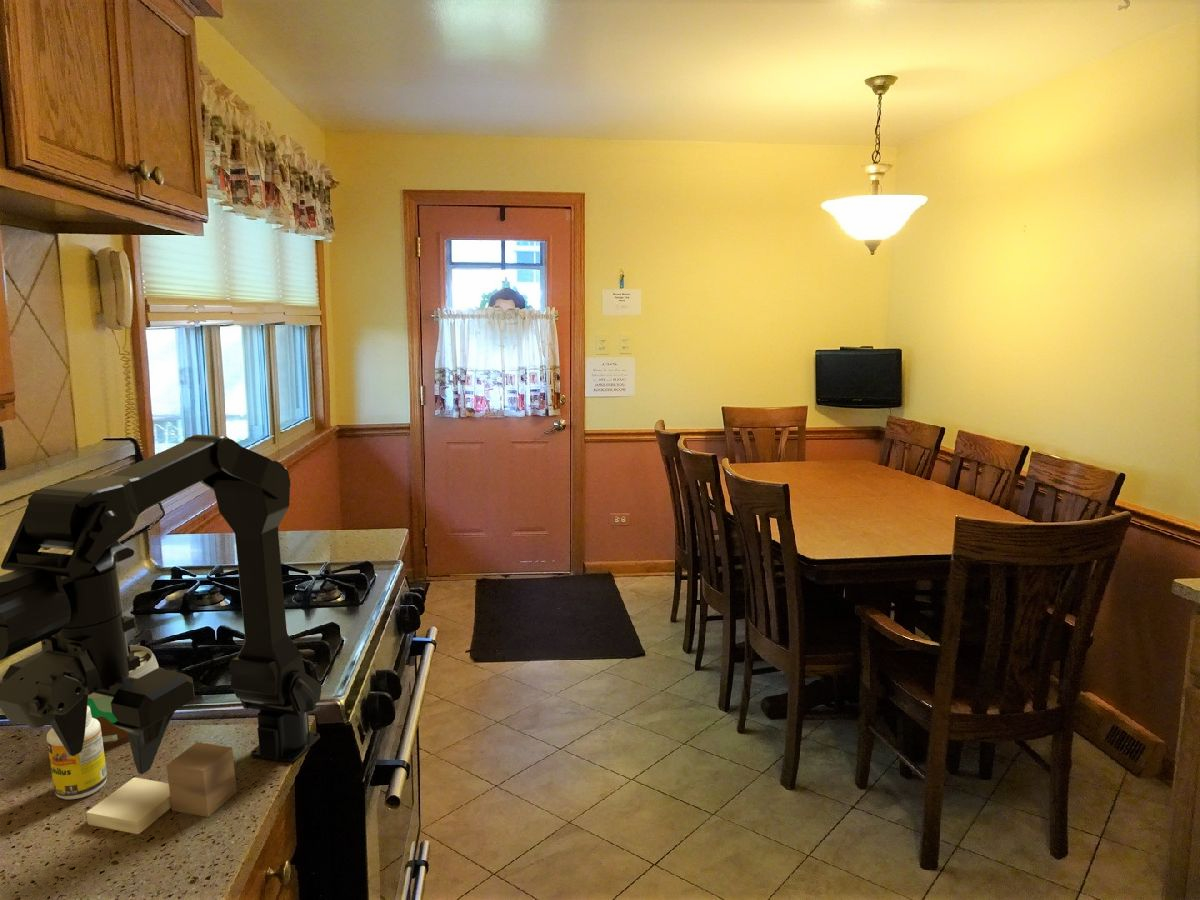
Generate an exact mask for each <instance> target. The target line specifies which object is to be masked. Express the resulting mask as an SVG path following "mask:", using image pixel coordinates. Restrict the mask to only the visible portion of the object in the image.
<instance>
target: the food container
mask: <svg viewBox="0 0 1200 900" xmlns="http://www.w3.org/2000/svg"><path fill="white" fill-rule="evenodd" d="M129 650H130V652H128V653H129V654H130V655H135V656H139V658H140V665H141V666H139V667H137V668H135V669H133V670H131V671H129V676H128V677H133V678H140V677H142V676H144V675H146V674H147V673H149V672H151V671H153V670H155V669H157V668H159V669H160V667H159V663H158V661H157V658H156V655H155V654H154V653H153V652H152V651H153V650H151V649H150V648H148V647H146V646H142V645H136V644H135V645H134V644H130V645H129ZM113 698H114V697H110V696H106V695H101V694H97V693H92V694H90V695H88V703H87V706H89V707H90V711H91V715H92V718H95V719H97V720H98V721H99V722H100V726H101V733H102V741H103V748H108V747H114V746H115V747H116V746H120V745H123V744H126V743H130V742H129V737H128V733H127V731H125V730H123V729H120V728H118V727H116V726H113V723H115V722H116V721H118V720H117V719H116V717H115V716H114V715H113V714H112V709H111V701H112V699H113Z"/></svg>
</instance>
